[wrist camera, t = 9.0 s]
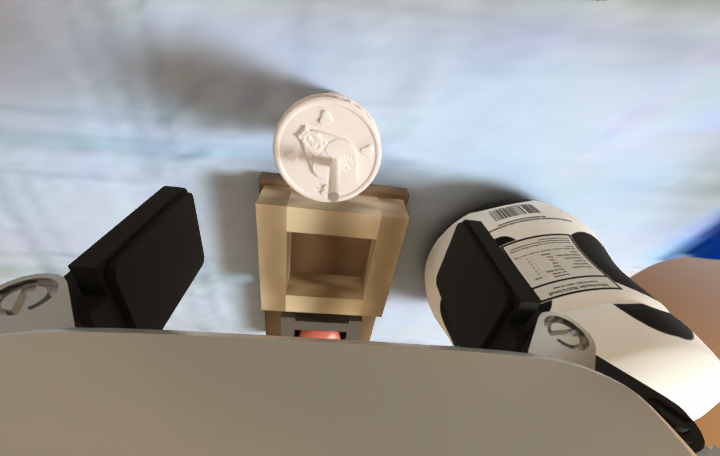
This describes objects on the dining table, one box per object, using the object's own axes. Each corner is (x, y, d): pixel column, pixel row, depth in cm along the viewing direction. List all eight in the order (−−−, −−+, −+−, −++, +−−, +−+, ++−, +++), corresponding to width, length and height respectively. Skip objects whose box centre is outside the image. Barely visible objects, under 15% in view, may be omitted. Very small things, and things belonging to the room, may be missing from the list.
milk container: (475, 318, 41) (550, 479, 27) (387, 262, 35) (421, 437, 20) (592, 242, 34) (782, 402, 20) (511, 152, 28) (709, 295, 13)
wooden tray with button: (268, 331, 41) (260, 365, 36) (262, 172, 27) (248, 197, 23) (367, 336, 42) (370, 369, 38) (406, 188, 29) (416, 214, 25)
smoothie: (334, 165, 27) (329, 264, 16) (278, 115, 25) (223, 191, 13) (385, 114, 25) (422, 187, 13) (329, 53, 22) (315, 78, 11)
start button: (300, 333, 38) (297, 356, 36) (301, 308, 35) (298, 330, 33) (338, 335, 39) (338, 357, 36) (342, 310, 36) (342, 332, 33)
